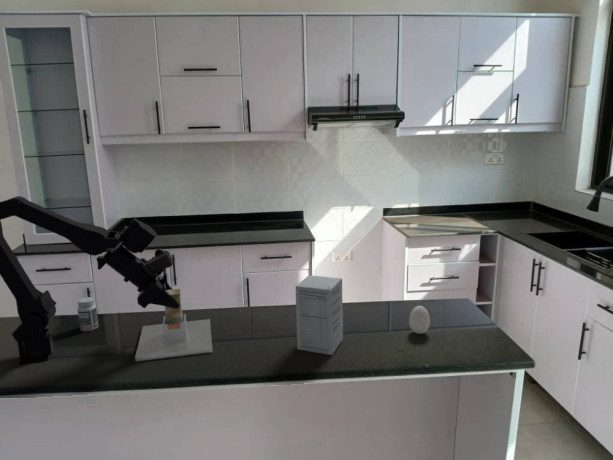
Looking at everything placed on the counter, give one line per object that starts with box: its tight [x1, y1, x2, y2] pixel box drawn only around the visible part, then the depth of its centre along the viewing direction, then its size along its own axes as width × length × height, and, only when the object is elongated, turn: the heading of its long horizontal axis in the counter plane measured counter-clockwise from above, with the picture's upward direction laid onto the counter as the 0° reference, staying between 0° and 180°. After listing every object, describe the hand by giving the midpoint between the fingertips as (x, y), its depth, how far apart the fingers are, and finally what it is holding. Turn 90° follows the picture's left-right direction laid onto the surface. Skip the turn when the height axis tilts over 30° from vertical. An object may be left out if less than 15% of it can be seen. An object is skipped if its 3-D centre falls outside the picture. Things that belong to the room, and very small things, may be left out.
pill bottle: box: [77, 296, 99, 332], centre depth 128 cm, size 5×5×8 cm
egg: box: [408, 305, 431, 335], centre depth 122 cm, size 5×5×8 cm
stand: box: [134, 313, 214, 362], centre depth 120 cm, size 18×18×6 cm
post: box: [164, 288, 184, 323], centre depth 119 cm, size 4×4×10 cm
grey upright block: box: [295, 274, 344, 356], centre depth 115 cm, size 10×9×17 cm
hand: (178, 304), depth 119 cm, fingers closed on post, 4 cm apart
